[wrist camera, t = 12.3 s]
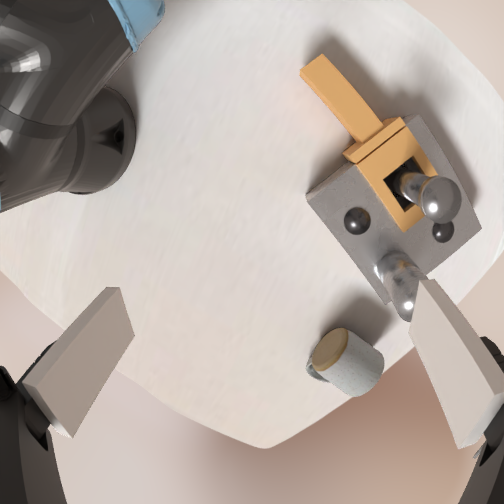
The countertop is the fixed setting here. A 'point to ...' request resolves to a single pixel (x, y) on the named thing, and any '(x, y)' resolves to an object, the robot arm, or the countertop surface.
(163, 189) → the countertop surface
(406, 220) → the bracket
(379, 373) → the ceramic mug
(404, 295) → the grey latch block
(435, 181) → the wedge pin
